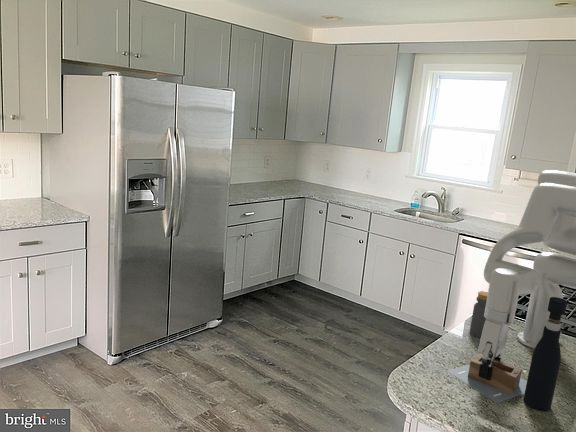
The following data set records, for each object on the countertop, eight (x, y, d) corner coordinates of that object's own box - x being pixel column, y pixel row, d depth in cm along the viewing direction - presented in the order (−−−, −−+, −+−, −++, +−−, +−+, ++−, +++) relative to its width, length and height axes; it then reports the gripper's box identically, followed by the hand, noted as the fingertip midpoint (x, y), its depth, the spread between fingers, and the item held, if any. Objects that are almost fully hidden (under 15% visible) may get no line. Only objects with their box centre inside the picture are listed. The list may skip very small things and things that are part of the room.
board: (488, 363, 151) (490, 352, 150) (539, 392, 136) (541, 380, 136) (446, 374, 142) (447, 362, 141) (495, 407, 128) (498, 394, 127)
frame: (475, 368, 144) (478, 352, 143) (518, 385, 137) (522, 368, 136) (467, 377, 139) (470, 360, 138) (512, 394, 132) (515, 376, 131)
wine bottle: (553, 417, 125) (577, 306, 119) (526, 412, 126) (548, 302, 120) (545, 403, 131) (568, 297, 125) (519, 399, 132) (541, 293, 126)
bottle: (482, 340, 167) (489, 298, 164) (466, 333, 171) (473, 292, 168) (490, 335, 171) (498, 294, 167) (474, 329, 175) (481, 289, 172)
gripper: (495, 301, 144) (484, 358, 147) (475, 318, 130) (464, 379, 134) (522, 309, 139) (511, 367, 143) (504, 327, 126) (492, 390, 130)
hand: (488, 372), depth 139 cm, fingers closed on frame, 6 cm apart
